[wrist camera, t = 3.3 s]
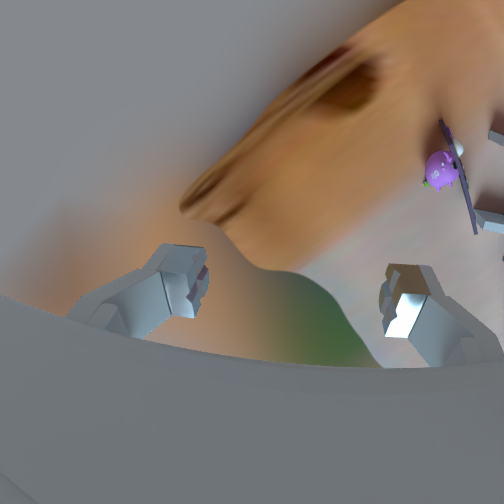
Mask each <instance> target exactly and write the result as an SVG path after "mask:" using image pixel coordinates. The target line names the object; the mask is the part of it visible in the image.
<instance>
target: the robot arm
mask: <svg viewBox="0 0 504 504" xmlns="http://www.w3.org/2000/svg"><path fill="white" fill-rule="evenodd" d="M206 259H207V255H206V250H205V248H204V247H196V246H187V245H176V244H165V243H164V244H161V245H160V246H159V248H158V249H157V250H156V252H155V253H154V254H153V255H152V256H151V258H150V259H149V260H148V262H147V263H146V264H145V265H144V267H143V268H142V269H137V270H134V271H132V272H130V273H128V274H126V275H124V276H122V277H120V278H118V279H116V280H114V281H112V282H110V283H108V284H106V285H103V286H101V287H99V288H98V289H95V290H93V291H91V292H89V293H87V294H85V295H83V296H82V297H81V298H80V299H79V300H78V301H77V303H76V304H75V305H74V307H73V308H72V309H71V310H70V312H69V313H68V314H67V315H66V317H65V318H64V317H61V316H58V315H55V314H52V313H49V312H46V311H43V310H40V309H38V308H35V307H32V306H30V305H27V304H24V303H21V302H19V301H16V300H14V299H11V298H9V297H6V296H4V295H2V294H0V504H504V352H503V350H502V348H501V345H500V343H499V341H498V338H497V336H496V335H495V334H494V333H493V332H492V331H491V330H490V329H489V328H487V327H486V326H485V325H484V324H483V323H482V322H480V321H479V320H478V319H477V318H476V317H474V316H473V315H472V314H471V313H470V312H468V311H467V310H466V309H465V308H463V307H462V306H461V305H460V304H458V303H457V302H456V301H455V300H453V299H452V298H451V297H450V296H445V294H444V292H443V290H442V287H441V285H440V283H439V281H438V279H437V277H436V275H435V273H434V271H433V269H432V267H430V266H429V265H407V264H390V263H389V265H388V267H387V270H386V273H385V275H386V278H387V281H385V282H384V283H383V284H382V286H381V290H380V294H379V308H380V312H381V313H382V314H383V315H384V318H383V320H382V323H383V328H384V333H385V336H388V337H408V339H409V341H410V342H411V343H412V344H413V346H414V347H415V348H416V349H417V351H418V352H419V353H420V354H421V356H422V357H423V358H424V359H425V361H426V362H427V363H428V365H429V366H430V367H427V368H350V367H330V366H329V367H328V366H313V365H301V364H290V363H280V362H270V361H262V360H254V359H246V358H239V357H232V356H225V355H219V354H212V353H207V352H201V351H196V350H190V349H185V348H180V347H175V346H170V345H165V344H160V343H156V342H152V341H147V340H142V338H144V337H145V336H146V335H147V334H149V333H150V332H151V331H153V330H154V329H155V328H157V327H158V326H159V325H161V324H162V323H163V322H164V321H166V320H167V319H169V317H171V315H173V316H180V317H188V318H195V317H196V315H197V312H198V310H199V308H200V306H201V302H200V298H202V297H204V296H205V294H206V292H207V289H208V284H209V271H208V268H207V267H206V266H205V265H204V263H205V261H206Z"/></svg>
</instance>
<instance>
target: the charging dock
mask: <svg viewBox="0 0 504 504" xmlns="http://www.w3.org/2000/svg"><path fill="white" fill-rule="evenodd" d="M489 140H491V141H494V142H496V143H498V144H500V145H502V146H504V135H502V134H499V133H496V132H494V131H491V130H490V132H489ZM473 212H474V213H475V217H476V221H475V222H476V223H477V224H478V225H479V226H480V227H481V228H482V230H487V231H493V232H499V233H504V215H502V214H497V213H493V212H488V211H483V210H479V209H473ZM502 260H503V261H504V257H503V259H502Z"/></svg>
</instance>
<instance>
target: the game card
mask: <svg viewBox="0 0 504 504" xmlns="http://www.w3.org/2000/svg"><path fill="white" fill-rule="evenodd" d="M439 122H440V124H441V127H442V129H443V132H444V134H445V137H446V139H447V142H448V146H449V148H450V151H449V152H448V151H437V152H435V153H433V154H432V155H431V156H430V157H429V159H428V161H427V163H426V167H425V175H426V180H427V181H426V182H424V183H423V185H424V186H429V185H432V186H433V187H436V188H437V190H438V192H439V191H440V187H442V186H444V185H446V184H449V186H450V187H452V182H453V181H454V180H456V179H457V178H458V176H459V178H460V181H461V185H462V188H463V192H464V195H465V199H466V203H467V206H468V210H469V214H470V218H471V222H472V226H473V231H474V235H476V234H478V232H477V227H476V222H475V221H476V217H475V213H474V212H473V208H472V203H471V199H470V195H469V192H468V189H469V188H468V180H467V179H466V176H465V175H464V166H463V164H462V163H461V160H460V159H459V156H460V155H461V154H462V153H463V145H462V144H461V143H460V142H459V141H457V140H456V139H455V137H454V135H453V133H452V135H453V137H454V139H455V140H453V138H452V135H451V132H450V130H449V128H448V126H447V128H446V126H445V124H444V122H443V120H439ZM450 135H451V136H450ZM451 138H452V139H451Z"/></svg>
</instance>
